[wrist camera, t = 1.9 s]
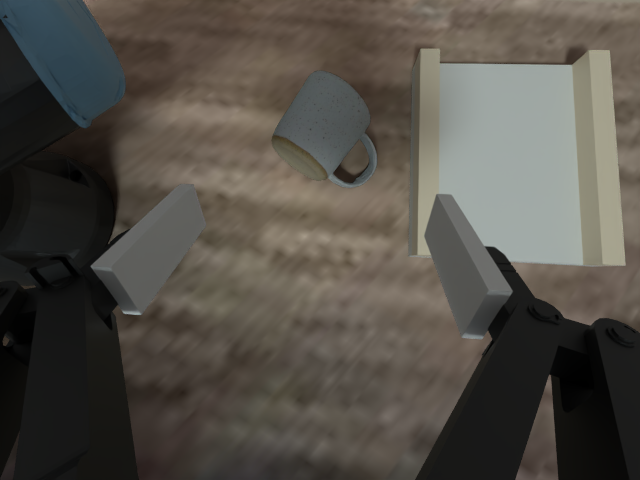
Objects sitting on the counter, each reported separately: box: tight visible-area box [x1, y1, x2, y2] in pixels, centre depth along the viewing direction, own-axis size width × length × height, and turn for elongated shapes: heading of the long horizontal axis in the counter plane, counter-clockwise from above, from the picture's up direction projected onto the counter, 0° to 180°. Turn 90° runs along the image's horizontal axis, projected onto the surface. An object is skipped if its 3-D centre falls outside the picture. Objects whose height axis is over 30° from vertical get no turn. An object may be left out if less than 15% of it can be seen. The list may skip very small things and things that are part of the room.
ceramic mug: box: [272, 71, 377, 188], centre depth 28 cm, size 11×8×8 cm
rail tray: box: [409, 49, 626, 266], centre depth 29 cm, size 19×22×3 cm
